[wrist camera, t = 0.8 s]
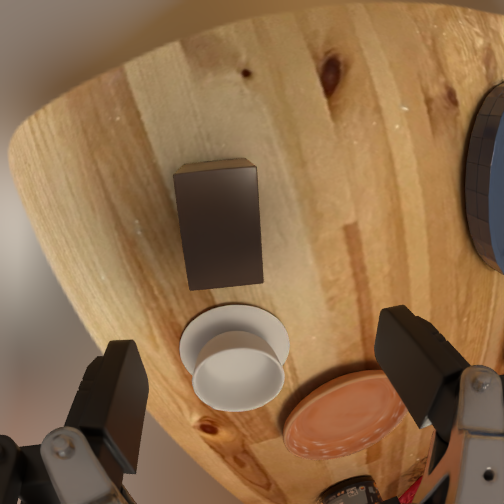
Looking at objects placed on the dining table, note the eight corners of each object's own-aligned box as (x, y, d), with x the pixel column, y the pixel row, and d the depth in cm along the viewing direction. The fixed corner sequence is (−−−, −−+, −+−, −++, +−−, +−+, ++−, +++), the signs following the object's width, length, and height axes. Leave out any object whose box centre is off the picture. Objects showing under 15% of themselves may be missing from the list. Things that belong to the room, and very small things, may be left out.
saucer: (272, 450, 35) (276, 468, 32) (288, 365, 29) (295, 386, 27) (379, 432, 37) (387, 447, 34) (419, 349, 31) (432, 364, 29)
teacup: (203, 285, 25) (202, 316, 21) (307, 322, 28) (323, 354, 23) (166, 369, 28) (161, 404, 24) (258, 394, 30) (265, 428, 26)
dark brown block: (183, 163, 22) (172, 174, 16) (245, 157, 22) (256, 165, 16) (194, 254, 24) (189, 291, 19) (252, 248, 25) (263, 283, 19)
